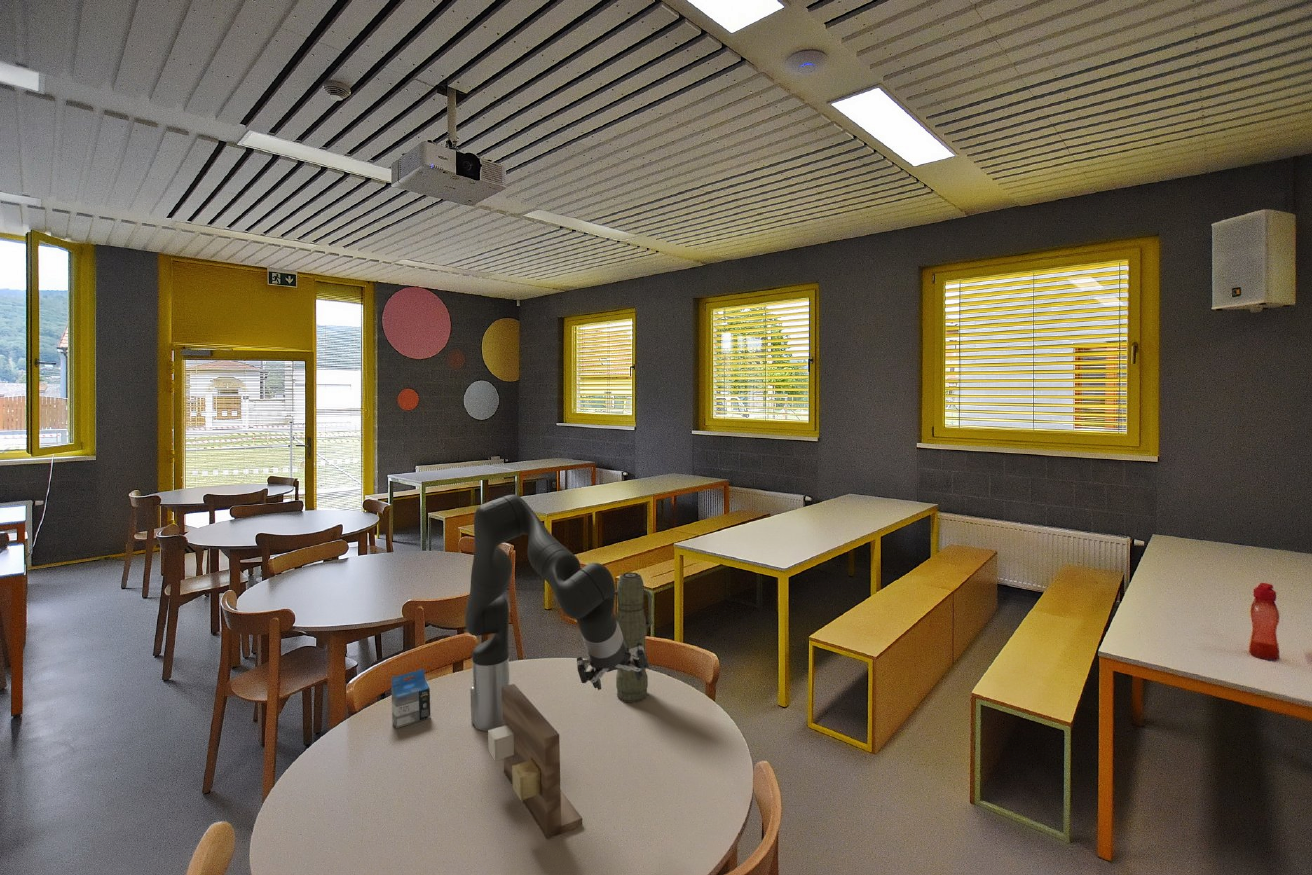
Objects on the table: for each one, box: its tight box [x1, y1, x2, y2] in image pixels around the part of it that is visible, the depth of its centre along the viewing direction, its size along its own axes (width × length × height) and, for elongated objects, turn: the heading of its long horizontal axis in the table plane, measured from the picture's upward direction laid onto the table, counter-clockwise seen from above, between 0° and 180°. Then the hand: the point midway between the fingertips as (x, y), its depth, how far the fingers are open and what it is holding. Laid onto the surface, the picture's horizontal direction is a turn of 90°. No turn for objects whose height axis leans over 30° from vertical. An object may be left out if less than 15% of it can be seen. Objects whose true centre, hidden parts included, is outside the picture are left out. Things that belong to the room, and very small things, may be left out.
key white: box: [487, 725, 514, 762], centre depth 139 cm, size 8×5×5 cm, turn 122°
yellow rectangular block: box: [512, 759, 542, 801], centre depth 126 cm, size 8×5×5 cm, turn 122°
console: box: [501, 683, 583, 840], centre depth 135 cm, size 8×26×20 cm, turn 32°
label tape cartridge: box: [390, 668, 432, 729], centre depth 168 cm, size 9×4×12 cm, turn 129°
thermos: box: [615, 571, 653, 704], centre depth 180 cm, size 9×12×35 cm
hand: (618, 680), depth 135 cm, fingers open, 8 cm apart
